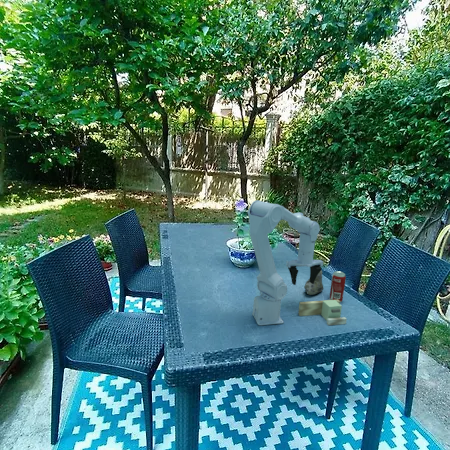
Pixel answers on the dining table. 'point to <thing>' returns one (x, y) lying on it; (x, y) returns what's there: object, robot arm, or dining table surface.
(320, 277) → the mineral rock
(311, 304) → the wall board
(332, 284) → the soda can
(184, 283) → the dining table surface
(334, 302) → the cabinet block
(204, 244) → the dining table surface
